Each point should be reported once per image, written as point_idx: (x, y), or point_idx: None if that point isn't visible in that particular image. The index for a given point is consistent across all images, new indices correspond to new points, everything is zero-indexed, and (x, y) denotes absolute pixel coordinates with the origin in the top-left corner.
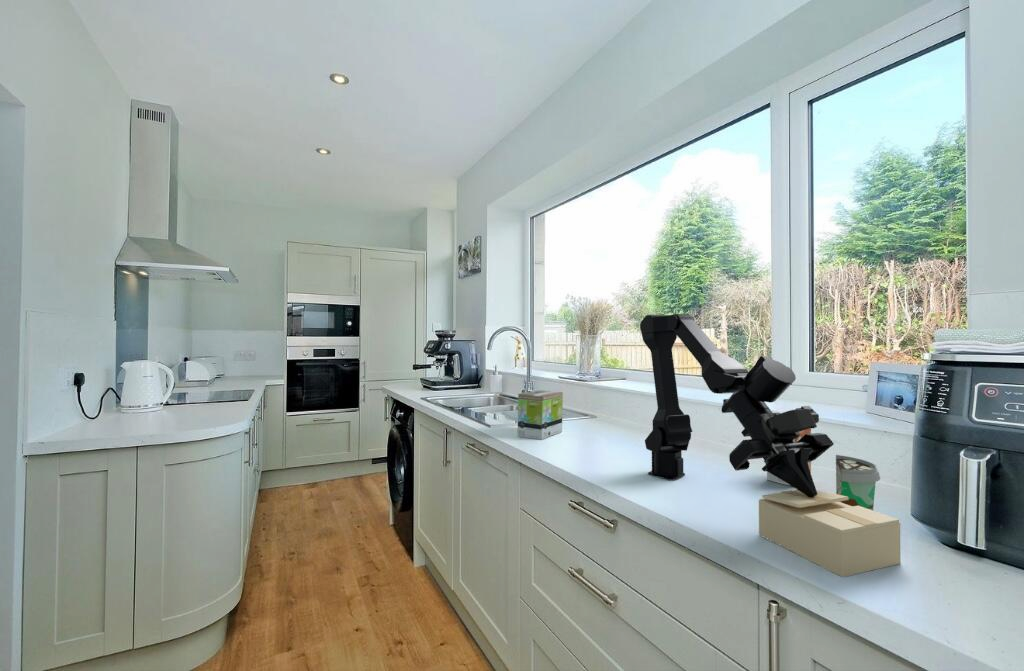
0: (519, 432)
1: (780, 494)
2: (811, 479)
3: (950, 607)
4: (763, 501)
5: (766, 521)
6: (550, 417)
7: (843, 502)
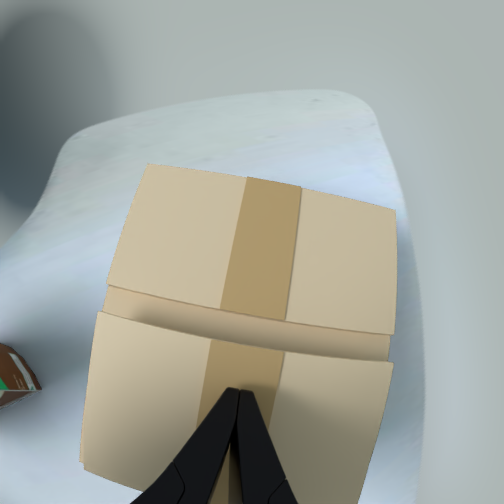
0: None
1: None
2: (200, 439)
3: (282, 133)
4: (359, 491)
5: None
6: None
7: (8, 385)
